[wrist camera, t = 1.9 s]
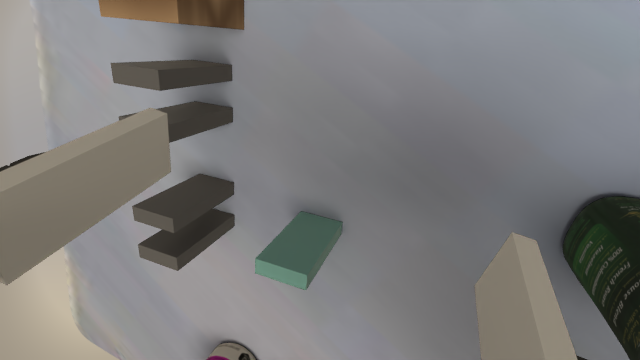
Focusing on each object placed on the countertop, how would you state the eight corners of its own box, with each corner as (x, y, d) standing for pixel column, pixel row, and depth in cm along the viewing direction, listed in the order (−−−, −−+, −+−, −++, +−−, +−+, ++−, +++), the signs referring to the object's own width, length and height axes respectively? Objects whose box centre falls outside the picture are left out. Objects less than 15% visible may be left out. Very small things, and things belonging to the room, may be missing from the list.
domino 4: (234, 225, 43) (177, 270, 34) (202, 216, 44) (140, 257, 36) (234, 214, 42) (176, 257, 34) (201, 205, 44) (138, 244, 35)
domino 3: (234, 194, 41) (174, 233, 32) (200, 185, 43) (134, 220, 34) (233, 182, 40) (172, 218, 32) (199, 173, 42) (132, 206, 33)
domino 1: (232, 80, 36) (160, 90, 27) (193, 75, 37) (113, 82, 29) (231, 65, 35) (158, 70, 26) (192, 59, 37) (110, 63, 28)
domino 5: (340, 234, 38) (306, 290, 29) (300, 223, 39) (255, 273, 30) (342, 222, 37) (307, 275, 28) (301, 211, 38) (255, 258, 30)
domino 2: (232, 122, 38) (165, 144, 29) (196, 115, 39) (121, 133, 30) (232, 107, 37) (163, 125, 28) (195, 101, 38) (118, 116, 30)
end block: (243, 29, 33) (178, 23, 26) (179, 23, 36) (101, 16, 28) (243, -5, 32) (175, -22, 24) (176, -9, 35) (94, -26, 27)
